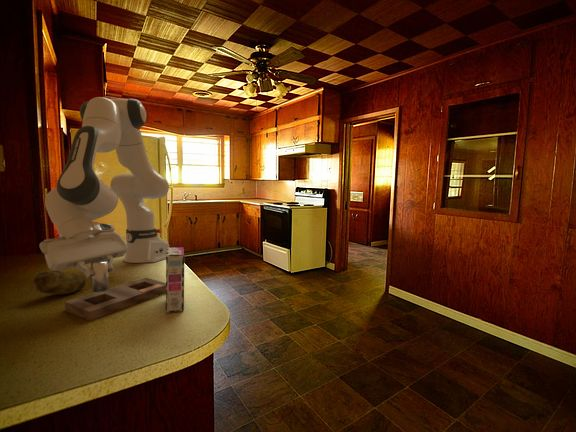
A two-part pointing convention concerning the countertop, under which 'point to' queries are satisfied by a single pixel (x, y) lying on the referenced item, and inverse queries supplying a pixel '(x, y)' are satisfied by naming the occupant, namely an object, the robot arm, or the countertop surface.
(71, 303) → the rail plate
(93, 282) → the metal peg
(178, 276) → the candy bar box
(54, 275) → the potato
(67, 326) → the countertop surface
